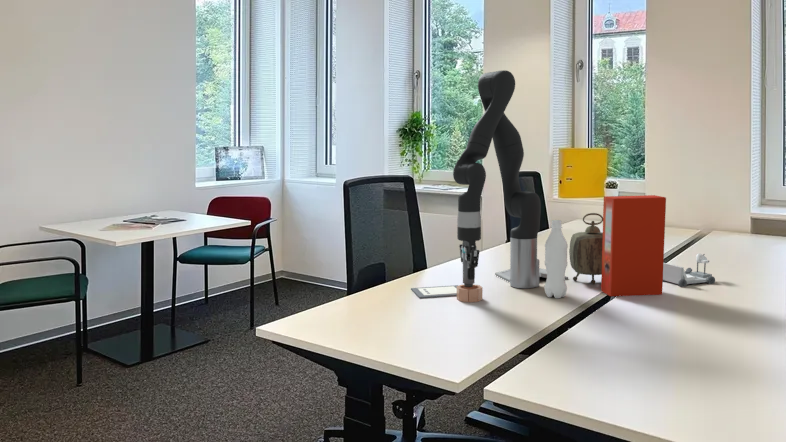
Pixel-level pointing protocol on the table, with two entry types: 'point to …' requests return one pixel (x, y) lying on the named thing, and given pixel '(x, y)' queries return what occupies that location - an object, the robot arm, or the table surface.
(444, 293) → the grey tablet
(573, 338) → the table surface
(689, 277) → the toy car
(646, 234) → the file binder
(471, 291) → the pen cup
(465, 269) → the marker
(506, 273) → the gadget
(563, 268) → the water bottle
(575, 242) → the tabletop clock
